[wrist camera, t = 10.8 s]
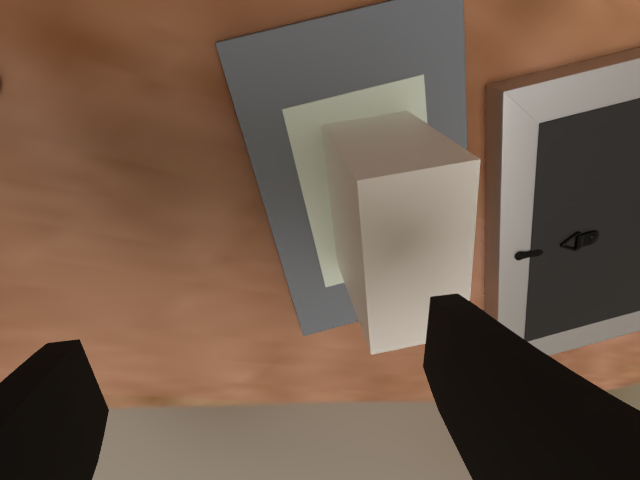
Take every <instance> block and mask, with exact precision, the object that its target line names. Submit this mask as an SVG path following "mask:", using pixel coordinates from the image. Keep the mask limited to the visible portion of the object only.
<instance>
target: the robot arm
mask: <svg viewBox="0 0 640 480" xmlns="http://www.w3.org/2000/svg"><path fill="white" fill-rule="evenodd" d="M423 368H424V371H425V374H426V376H427V379H428V382H429V385H430V388H431V391H432V394H433V397H434V399H435V402H436V405H437V407H438V410H439V412H440V414H441V416H442V418H443V420H444V423H445V425H446V427H447V429H448V431H449V433H450V435H451V437H452V439H453V441H454V443H455V445H456V447H457V449H458V451H459V453H460V455H461V457H462V459H463V461H464V463H465V465H466V467H467V469H468V471H469V473H470V475H471V477H472V479H473V480H640V411H639V410H637V409H635V408H634V407H632V406H630V405H628V404H626V403H625V402H623V401H621V400H619V399H618V398H616V397H614V396H612V395H611V394H609V393H607V392H606V391H604V390H602V389H601V388H599V387H597V386H596V385H594V384H593V383H591V382H589V381H588V380H586V379H584V378H583V377H581V376H579V375H578V374H576V373H574V372H573V371H571V370H570V369H568V368H567V367H565V366H563V365H562V364H560V363H559V362H557V361H556V360H554V359H553V358H551V357H550V356H548V355H547V354H545V353H544V352H542V351H540V350H539V349H538V348H536V347H535V346H533V345H532V344H530V343H529V342H527V341H526V340H524V339H523V338H521V337H520V336H518V335H517V334H516V333H514V332H513V331H511V330H510V329H508V328H507V327H506V326H504V325H503V324H501V323H500V322H498V321H497V320H496V319H494V318H493V317H491V316H490V315H489V314H487V313H486V312H484V311H483V310H481V309H480V308H479V307H477V306H476V305H474V304H473V303H471V302H470V301H468V300H467V299H465V298H464V297H462V296H461V295H459V294H458V293H457V294H449V295H440V296H432V297H430V305H429V315H428V325H427V334H426V344H425V354H424V363H423ZM108 412H109V410H108V407H107V405H106V402H105V400H104V397H103V395H102V393H101V390H100V388H99V385H98V383H97V380H96V378H95V376H94V373H93V371H92V368H91V366H90V364H89V361H88V359H87V356H86V354H85V351H84V349H83V347H82V344H81V342H80V339H79V340H70V341H62V342H54V343H47V344H46V345H44V346H43V347H42V348H41V349H39V350H38V351H37V352H36V353H34V354H33V355H32V356H31V357H30V358H28V359H27V360H26V361H25V362H24V363H23V364H21V365H20V366H19V367H18V368H17V369H16V370H14V371H13V372H12V373H11V374H10V375H9V376H8V377H6V378H5V379H4V380H3V381H2V382H1V383H0V480H92V478H93V475H94V471H95V469H96V466H97V463H98V458H99V454H100V450H101V446H102V441H103V437H104V432H105V427H106V422H107V416H108Z"/></svg>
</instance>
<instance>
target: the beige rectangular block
mask: <svg viewBox="0 0 640 480" xmlns="http://www.w3.org/2000/svg"><path fill="white" fill-rule="evenodd" d="M321 128H322V136H323V145H324V154H325V162H326V171H327V179H328V188H329V197H330V205H331V214H332V222H333V231H334V240H335V248H336V257H337V264H338V266H339V269H340V272H341V275H342V277H343V280H344V283H345V286H346V288H347V291H348V294H349V297H350V299H351V302H352V305H353V307H354V310H355V313H356V316H357V318H358V321H359V324H360V327H361V329H362V332H363V335H364V338H365V340H366V343H367V346H368V349H369V351H370V354H371V355H372V354H377V353H382V352H387V351H392V350H396V349H401V348H406V347H411V346H416V345H420V344H425V343H426V334H427V325H428V315H429V305H430V297H432V296H440V295H449V294H457V293H458V294H459V295H461V296H462V297H464V298H465V299H467V300H468V301H470V292H471V279H472V265H473V252H474V239H475V226H476V213H477V199H478V186H479V173H480V160H481V159H479V158H478V157H476V156H475V155H473V154H472V153H470V152H469V151H467V150H466V149H464V148H463V147H461V146H460V145H458V144H457V143H455V142H454V141H452V140H451V139H449V138H448V137H446V136H445V135H443V134H442V133H440V132H439V131H437V130H436V129H434V128H433V127H431V126H430V125H428V124H427V123H425V122H424V121H422V120H421V119H419V118H418V117H416V116H415V115H413V114H412V113H410V112H409V111H403V112H397V113H391V114H384V115H378V116H372V117H366V118H360V119H353V120H347V121H341V122H335V123H329V124H323V125H321Z"/></svg>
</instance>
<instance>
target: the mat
mask: <svg viewBox="0 0 640 480" xmlns="http://www.w3.org/2000/svg"><path fill="white" fill-rule="evenodd" d="M215 44H216V47H217V51H218V54H219V57H220V61H221V64H222V67H223V71H224V74H225V77H226V81H227V84H228V87H229V91H230V94H231V97H232V101H233V104H234V107H235V111H236V114H237V117H238V121H239V124H240V127H241V130H242V134H243V137H244V140H245V144H246V147H247V150H248V154H249V157H250V160H251V164H252V167H253V170H254V174H255V177H256V180H257V184H258V187H259V190H260V194H261V197H262V200H263V204H264V207H265V210H266V214H267V217H268V220H269V223H270V227H271V230H272V233H273V237H274V240H275V243H276V247H277V250H278V253H279V257H280V260H281V263H282V267H283V270H284V273H285V277H286V280H287V283H288V287H289V290H290V293H291V297H292V300H293V303H294V307H295V310H296V313H297V317H298V320H299V323H300V326H301V330H302V333H303V336H305V335H309V334H313V333H316V332H320V331H324V330H328V329H331V328H335V327H339V326H343V325H346V324H350V323H354V322H357V321H358V318H357V316H356V313H355V310H354V307H353V305H352V302H351V299H350V297H349V294H348V291H347V288H346V286H345V283H344V280H343V277H342V275H341V272H340V269H339V266H338V264H337V257H336V248H335V240H334V231H333V222H332V214H331V205H330V197H329V188H328V179H327V171H326V162H325V154H324V145H323V136H322V128H321V125H323V124H329V123H335V122H341V121H347V120H353V119H360V118H366V117H372V116H378V115H384V114H391V113H397V112H403V111H409V112H410V113H412V114H413V115H415V116H416V117H418V118H419V119H421V120H422V121H424V122H425V123H427V124H428V125H430V126H431V127H433V128H434V129H436V130H437V131H439V132H440V133H442V134H443V135H445V136H446V137H448V138H449V139H451V140H452V141H454V142H455V143H457V144H458V145H460V146H461V147H463V148H464V149H466V150H467V119H466V79H465V39H464V0H389V1H385V2H380V3H376V4H372V5H368V6H364V7H360V8H355V9H351V10H347V11H343V12H339V13H334V14H330V15H326V16H322V17H318V18H314V19H309V20H305V21H301V22H297V23H293V24H289V25H284V26H280V27H276V28H272V29H268V30H264V31H259V32H255V33H251V34H247V35H243V36H239V37H234V38H230V39H226V40H222V41H218V42H216V43H215Z"/></svg>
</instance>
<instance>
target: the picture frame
mask: <svg viewBox="0 0 640 480" xmlns="http://www.w3.org/2000/svg"><path fill="white" fill-rule="evenodd" d="M485 312H486V313H487V314H489V315H490V316H491V317H493V318H494V319H496V320H497V321H498V322H500V323H501V324H503V325H504V326H506V327H507V328H508V329H510V330H511V331H513V332H514V333H516V334H517V335H518V336H520V337H521V338H523V339H524V340H526V341H527V342H529V343H530V344H532V345H533V346H535V347H536V348H538V349H539V350H540V351H542V352H544V353H545V354H547V355H548V356H549V355H553V354H557V353H560V352H564V351H568V350H571V349H575V348H579V347H582V346H586V345H589V344H593V343H597V342H600V341H604V340H608V339H611V338H615V337H619V336H622V335H626V334H629V333H633V332H637V331H640V47H638V48H634V49H630V50H626V51H622V52H618V53H614V54H610V55H606V56H601V57H597V58H593V59H589V60H585V61H581V62H577V63H573V64H569V65H565V66H561V67H556V68H552V69H548V70H544V71H540V72H536V73H532V74H528V75H524V76H520V77H516V78H512V79H507V80H503V81H499V82H495V83H491V84H487V85H485Z"/></svg>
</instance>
